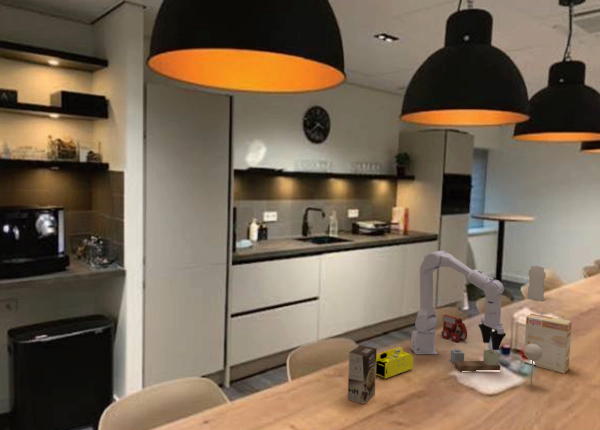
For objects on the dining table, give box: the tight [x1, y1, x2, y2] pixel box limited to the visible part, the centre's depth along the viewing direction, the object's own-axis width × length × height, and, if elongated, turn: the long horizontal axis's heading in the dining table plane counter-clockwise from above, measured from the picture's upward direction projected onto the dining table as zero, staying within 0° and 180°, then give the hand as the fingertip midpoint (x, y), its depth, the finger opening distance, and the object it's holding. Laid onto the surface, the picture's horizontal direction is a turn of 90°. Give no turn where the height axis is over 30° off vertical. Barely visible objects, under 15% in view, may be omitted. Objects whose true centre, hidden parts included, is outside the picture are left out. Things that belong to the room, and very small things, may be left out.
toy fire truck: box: [440, 314, 468, 343], centre depth 214 cm, size 7×12×10 cm, turn 38°
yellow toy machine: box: [376, 346, 414, 379], centre depth 174 cm, size 16×6×8 cm, turn 128°
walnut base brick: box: [454, 360, 501, 373], centre depth 179 cm, size 16×5×2 cm, turn 93°
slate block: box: [449, 348, 465, 365], centre depth 186 cm, size 4×4×5 cm
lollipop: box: [523, 344, 542, 385], centre depth 166 cm, size 6×6×15 cm
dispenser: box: [527, 265, 547, 302], centre depth 293 cm, size 11×4×22 cm, turn 38°
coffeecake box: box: [523, 313, 572, 374], centre depth 183 cm, size 15×7×20 cm, turn 47°
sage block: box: [482, 349, 499, 365], centre depth 179 cm, size 4×4×5 cm
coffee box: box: [347, 344, 377, 405], centre depth 153 cm, size 9×6×16 cm
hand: (490, 346), depth 178 cm, fingers open, 7 cm apart
